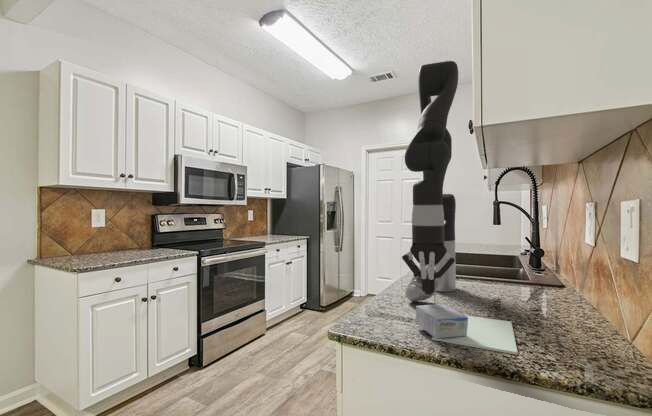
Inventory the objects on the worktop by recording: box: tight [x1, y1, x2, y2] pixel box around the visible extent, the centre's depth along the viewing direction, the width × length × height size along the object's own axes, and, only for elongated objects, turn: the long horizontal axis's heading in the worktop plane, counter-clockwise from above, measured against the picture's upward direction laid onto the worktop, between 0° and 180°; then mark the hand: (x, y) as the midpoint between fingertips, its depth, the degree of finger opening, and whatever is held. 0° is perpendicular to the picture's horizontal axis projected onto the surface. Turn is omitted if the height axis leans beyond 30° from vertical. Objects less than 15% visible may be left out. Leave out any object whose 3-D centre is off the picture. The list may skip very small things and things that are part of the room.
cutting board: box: [431, 314, 519, 356], centre depth 72 cm, size 18×16×1 cm
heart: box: [405, 267, 439, 305], centre depth 93 cm, size 10×10×12 cm
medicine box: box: [414, 303, 468, 339], centre depth 71 cm, size 8×4×9 cm
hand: (428, 293), depth 77 cm, fingers closed
